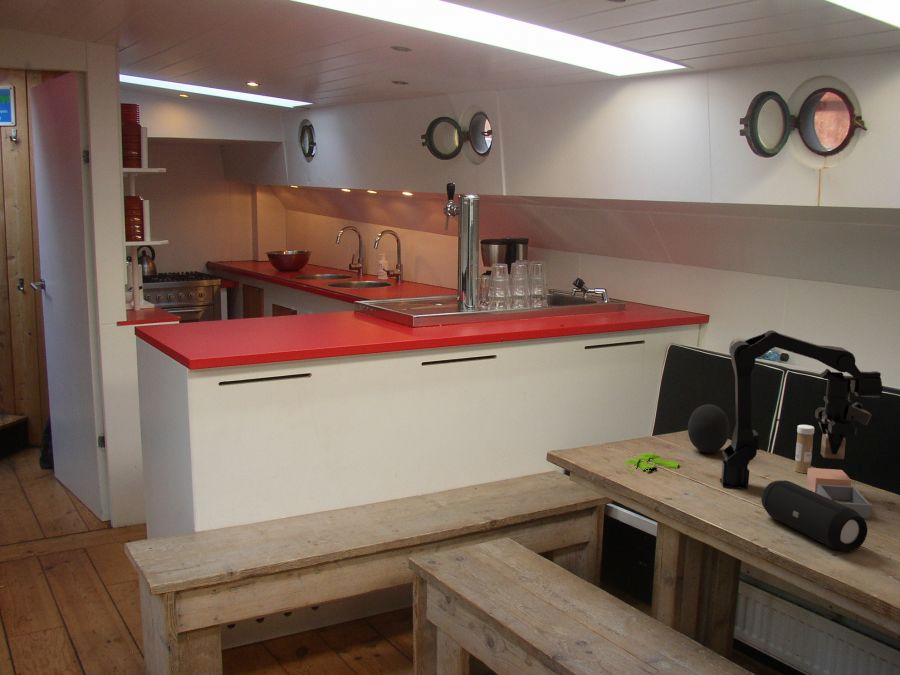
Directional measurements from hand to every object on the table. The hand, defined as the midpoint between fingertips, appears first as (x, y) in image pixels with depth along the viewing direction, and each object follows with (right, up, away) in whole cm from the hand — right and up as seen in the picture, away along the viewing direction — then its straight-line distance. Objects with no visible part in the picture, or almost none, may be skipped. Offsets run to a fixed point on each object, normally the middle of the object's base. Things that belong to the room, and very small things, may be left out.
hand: (832, 451), depth 240 cm
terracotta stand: (0, -11, +3) cm, 11 cm away
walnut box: (0, -1, 0) cm, 1 cm away
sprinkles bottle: (-1, -8, +19) cm, 20 cm away
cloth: (-44, -8, +21) cm, 49 cm away
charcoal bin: (-2, -13, -11) cm, 17 cm away
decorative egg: (-23, -5, +36) cm, 43 cm away
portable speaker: (-18, -16, -29) cm, 38 cm away
